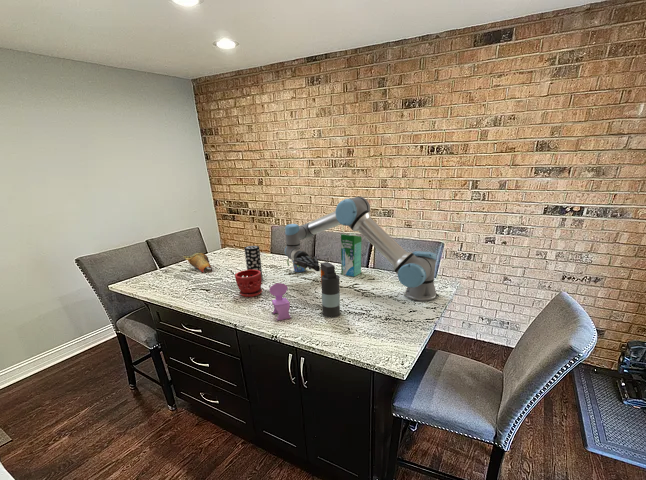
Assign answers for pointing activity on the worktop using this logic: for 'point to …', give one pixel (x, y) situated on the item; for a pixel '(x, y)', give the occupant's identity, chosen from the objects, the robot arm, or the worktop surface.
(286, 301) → the toy chair
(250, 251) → the white-spotted black cylinder
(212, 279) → the worktop surface
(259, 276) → the plant pot
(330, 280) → the spray bottle
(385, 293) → the worktop surface
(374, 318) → the worktop surface
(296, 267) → the snack cup
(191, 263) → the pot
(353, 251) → the milk carton
